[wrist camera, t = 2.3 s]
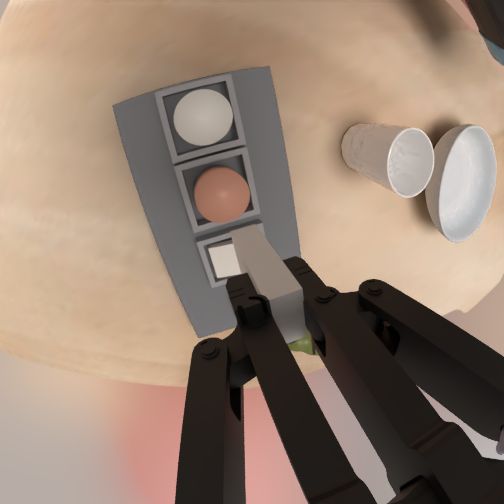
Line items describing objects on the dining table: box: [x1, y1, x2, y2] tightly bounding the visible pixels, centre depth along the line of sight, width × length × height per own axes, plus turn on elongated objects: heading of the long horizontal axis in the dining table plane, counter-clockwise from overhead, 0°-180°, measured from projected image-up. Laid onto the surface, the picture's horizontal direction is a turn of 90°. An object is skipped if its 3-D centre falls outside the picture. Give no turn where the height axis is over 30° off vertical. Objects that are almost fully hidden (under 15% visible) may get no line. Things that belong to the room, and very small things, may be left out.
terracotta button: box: [194, 166, 250, 223], centre depth 26 cm, size 5×5×3 cm
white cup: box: [341, 124, 434, 198], centre depth 29 cm, size 8×8×10 cm
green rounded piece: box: [287, 329, 319, 355], centre depth 45 cm, size 6×5×10 cm
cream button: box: [174, 89, 233, 146], centre depth 22 cm, size 5×5×3 cm
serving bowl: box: [425, 124, 497, 243], centre depth 36 cm, size 21×21×7 cm
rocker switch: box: [208, 240, 242, 278], centre depth 31 cm, size 5×4×1 cm
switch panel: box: [113, 66, 301, 338], centre depth 31 cm, size 16×31×5 cm, turn 12°
